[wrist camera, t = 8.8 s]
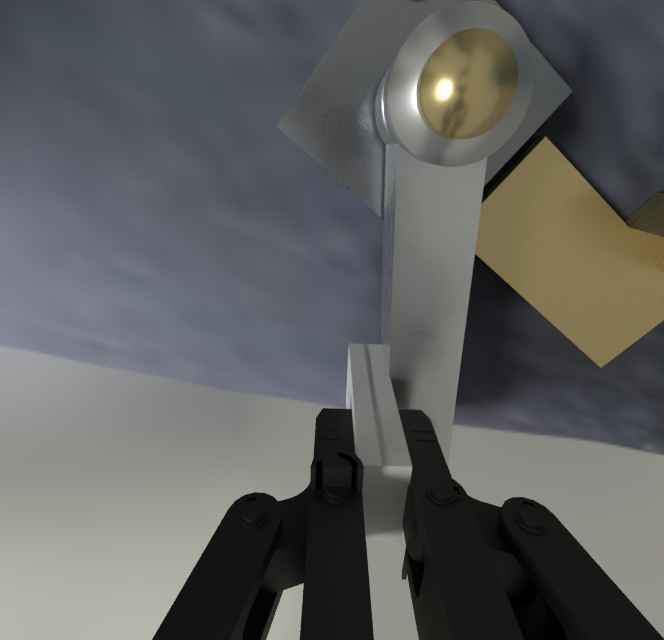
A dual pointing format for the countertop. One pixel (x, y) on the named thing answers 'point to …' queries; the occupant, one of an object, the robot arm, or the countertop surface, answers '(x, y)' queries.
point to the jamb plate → (360, 93)
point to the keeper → (575, 252)
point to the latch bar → (441, 188)
